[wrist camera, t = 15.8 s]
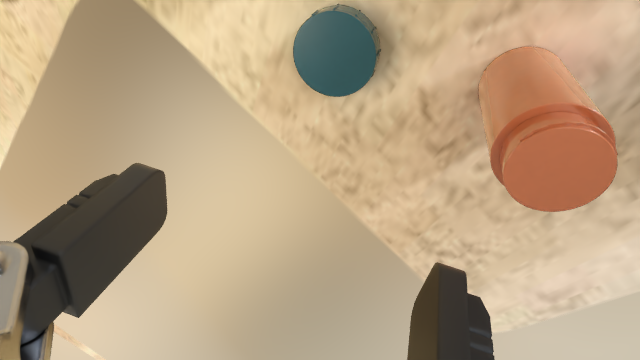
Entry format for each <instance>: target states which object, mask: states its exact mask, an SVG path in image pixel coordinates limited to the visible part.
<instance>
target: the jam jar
mask: <svg viewBox="0 0 640 360" xmlns="http://www.w3.org/2000/svg"><path fill="white" fill-rule="evenodd" d="M478 96H479V101H480V107H481V112H482V118H483V123H484V129H485V134H486V140H487V145H488V151H489V156H490V162H491V167H492V170H493V172H494V174H495V176H496V178H497V179H498V180H499V181H500V182H501V183H502V184H503V185H504V186H505V187H506V189H507V191H508V193H509V194H510V195H511V196H512V197H513V198H514V199H515V200H516V201H518V202H519V203H521V204H522V205H524V206H526V207H529V208H532V209H535V210H540V211H549V212H556V211H566V210H570V209H574V208H577V207H580V206H583V205H585V204H587V203H589V202H591V201H593V200H594V199H596V198H597V197H598V196H600V195H601V194H602V193H603V192H604V191H605V190H606V189H607V188H608V187H609V185H610V184H611V182H612V181H613V179H614V177H615V174H616V170H617V155H618V154H617V151H616V148H615V146H616V144H615V135H614V131H613V129H612V127H611V125H610V124H609V122H608V121H607V119H606V118H605V117H604V116H603V114H602V113H601V112H600V110H599V109H598V108H597V107H596V105H595V104H594V103H593V101H592V100H591V99H590V97H589V96H588V95H587V94H586V92H585V91H584V90H583V88H582V87H581V86H580V85H579V83H578V82H577V81H576V79H575V78H574V77H573V76H572V74H571V73H570V72H569V70H568V69H567V68H566V67H565V65H564V64H563V63H562V61H561V60H560V59H559V58H558V57H557V56H556V55H555V54H553V53H552V52H550V51H548V50H546V49H543V48H539V47H520V48H516V49H512V50H510V51H508V52H505V53H504V54H502V55H500V56H499V57H497V58H496V59H495V60H494V61H492V62H491V63H490V65H489V66H488V67H487V68H486V70H485V71H484V73H483V74H482V77H481V79H480V82H479V87H478Z"/></svg>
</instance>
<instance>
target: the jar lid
mask: <svg viewBox="0 0 640 360" xmlns="http://www.w3.org/2000/svg"><path fill="white" fill-rule="evenodd" d="M360 11H361V10H359V11H358V10H356V9H354V8H352V7H348V6H343V5H339V4H337V5H335V6H329V7H326V8H323V9H321V10H320V11H318V10H317V11H316V12H315V13H313V14H312V17H310V18H309V19H308V20H307V21H306V22H305V23H304V24H303V25H302V26H301V27H300V29H299V31H298V33H297V35H296V37H295V41H294V47H293V56H294V62H295V65H296V68H297V71H298V72H299V74H300V76H301V77H302V79H303V80H304V81H305V82H306V84H307V85H309V86H310V87H311V88H312V89H314V90H315V91H317V92H319V93H321V94H324V95H328V96H334V97H340V96H346V95H350V94H352V93H355V92H356V91H358V90H360V89H361V88H362V87H363V86H364V85H365V84H366V83H367V82H368V81H369V79H370V78H371V77H372V76H373V74H374V72H375V67H376V65H377V62H378V59H379V55H380V52H381V49H380V42H379V37H378V34H377V31H376V27H374V25H373V24H372V22H371V21H370V20H369V19H368V18H367V17H366V16H365V15H364V14H363V13H361V12H360Z"/></svg>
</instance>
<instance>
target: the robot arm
mask: <svg viewBox="0 0 640 360" xmlns="http://www.w3.org/2000/svg"><path fill="white" fill-rule="evenodd" d="M165 182H166V181H165V174H164V172H163V171H161V170H158V169H155V168H152V167H149V166H146V165H143V164H140V163H135V164H133V165H131V166H130V167H129V168H127V169H126V170H125V171H124V172H122V173H121V174H120V175H116V174H112V175H110V176H107V177H104V178H102V179H99V180H97V181H94V182H93V183H92V184H90V185H89V186H88V187H87V188H85V189H84V190H82V191H81V192H80V193H79V195H76V196H74V197H73V198H72V199H70V200H69V201H68V202H67V204H66V205H65V204H64V205H62V206H61V207H60V208H58V209H57V210H56V211H54V212H53V213H52V214H50V215H49V216H48V217H46V218H45V219H44V220H42V221H41V222H40V223H38V224H37V225H36V226H34V227H33V228H32V229H30V230H29V231H27V232H26V233H25V234H23V235H22V236H21V237H20V238H18V239H17V240H15V241H14V242H9V241H0V360H50V356H51V348H52V340H53V332H54V323H53V321H54V320H55V319H56V318H57V317H58V316H59V315H60V314H61V313H62V312H64V313H67V314H70V315H72V316H75V317H78V318H79V317H80V316H81V315H82V314H83V313H84V312H85V310H86V309H87V308H88V307H89V306H90V305H91V304H92V303H93V302H94V301H95V300H96V299H97V297H98V296H99V295H100V294H101V293H102V292H103V291H104V290H105V289H106V288H107V286H108V285H109V284H110V283H111V282H112V281H113V280H114V279H115V278H116V277H117V276H118V275H119V273H120V272H121V271H122V270H123V269H124V268H125V267H126V266H127V265H128V264H129V263H130V262H131V260H132V259H133V258H134V257H135V256H136V255H137V254H138V253H139V252H140V251H141V250H142V249H143V247H144V246H145V245H146V244H147V243H148V242H149V241H150V240H151V239H152V238H153V236H154V235H155V234H156V233H157V232H158V231H159V230H160V228H161V227H162V225H163V224H164V221H165V219H166V215H167V199H166V183H165ZM491 336H492V332H491V323H490V316H489V314H488V312H487V310H486V308H485V306H484V304H483V302H482V300H481V298H480V297H477V296H474V295H471V294H468V293H467V278H466V273H465V271H462V270H459V269H456V268H453V267H450V266H447V265H444V264H441V263H438V262H437V263H435V265H434V266H433V268H432V270H431V272H430V273H429V275H428V277H427V279H426V281H425V283H424V285H423V287H422V288H421V290H420V292H419V294H418V296H417V298H416V301H415V303H414V307H413V310H412V316H411V325H410V336H409V346H408V358H407V360H494V356H493V352H494V351H493V342H492V339H491Z"/></svg>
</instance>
